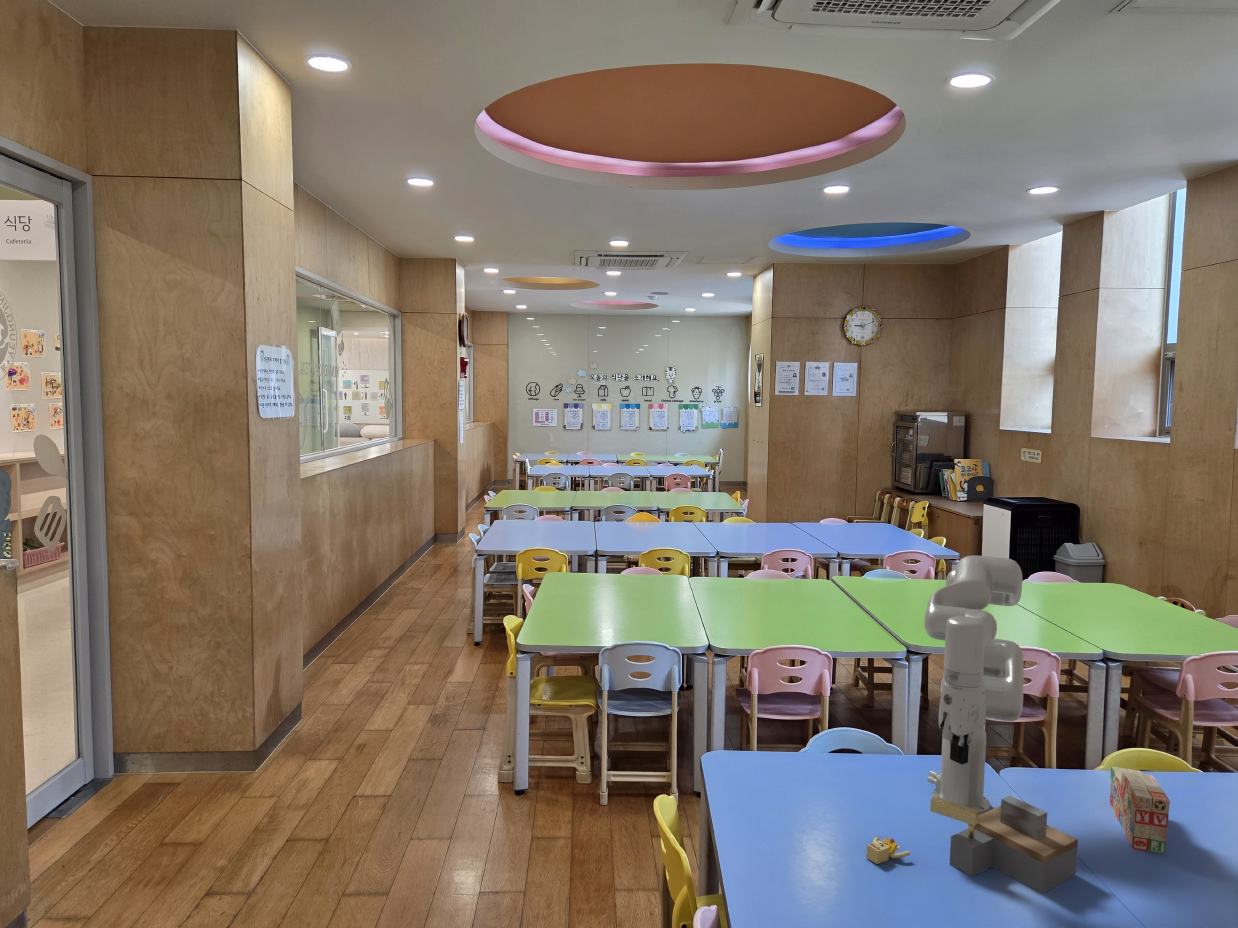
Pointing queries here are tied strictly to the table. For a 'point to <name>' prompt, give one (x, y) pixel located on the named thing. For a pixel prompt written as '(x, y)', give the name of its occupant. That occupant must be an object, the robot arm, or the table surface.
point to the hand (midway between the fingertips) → (958, 760)
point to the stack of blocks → (1140, 809)
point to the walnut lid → (1025, 830)
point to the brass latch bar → (956, 813)
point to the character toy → (883, 850)
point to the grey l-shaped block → (1009, 861)
